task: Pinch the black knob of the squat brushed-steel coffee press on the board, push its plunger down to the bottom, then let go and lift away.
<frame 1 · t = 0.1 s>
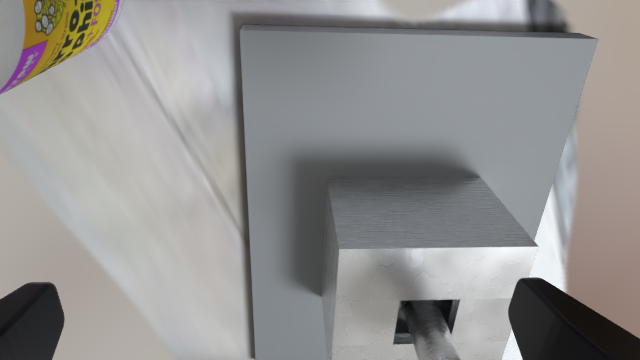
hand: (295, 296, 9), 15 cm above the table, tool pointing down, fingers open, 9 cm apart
press: (408, 276, 22), on the board, point 4 cm above the table
board: (390, 225, 26), on the table
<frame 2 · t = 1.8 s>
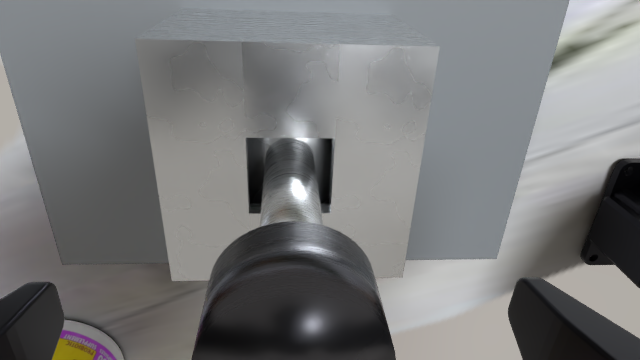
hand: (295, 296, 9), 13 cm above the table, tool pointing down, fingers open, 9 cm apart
press: (289, 139, 16), on the board, point 4 cm above the table
supplement bottle: (71, 351, 27), on the table
board: (288, 100, 20), on the table
plunger: (291, 225, 11), point 10 cm above the table, slide at 3.5 cm
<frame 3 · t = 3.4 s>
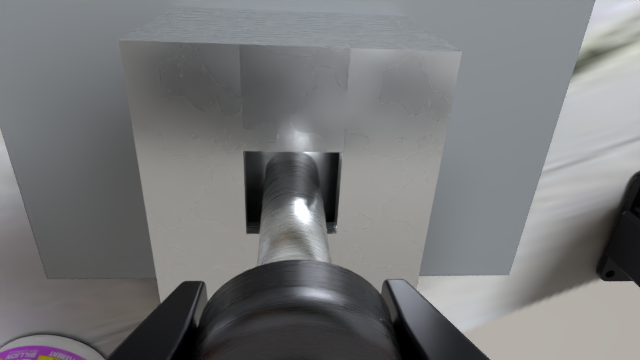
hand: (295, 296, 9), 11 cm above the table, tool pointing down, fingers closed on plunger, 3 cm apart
press: (291, 150, 15), on the board, point 4 cm above the table
board: (290, 106, 19), on the table
plunger: (294, 253, 10), point 10 cm above the table, slide at 3.5 cm, touching gripper
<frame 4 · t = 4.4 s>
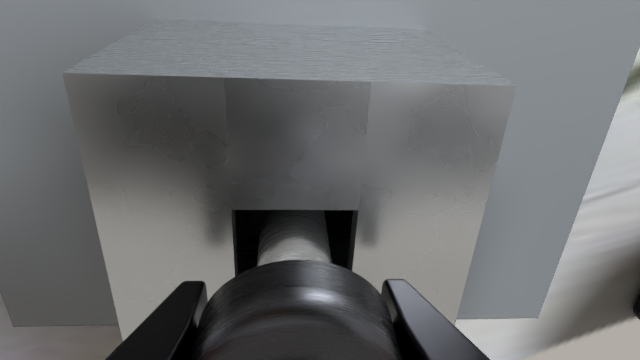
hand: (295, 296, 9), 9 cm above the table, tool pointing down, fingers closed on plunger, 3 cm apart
press: (292, 192, 12), on the board, point 4 cm above the table
board: (290, 131, 16), on the table
plunger: (294, 253, 10), point 7 cm above the table, slide at 0.6 cm, touching gripper
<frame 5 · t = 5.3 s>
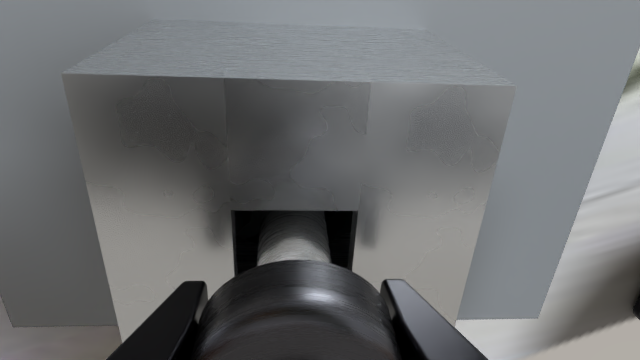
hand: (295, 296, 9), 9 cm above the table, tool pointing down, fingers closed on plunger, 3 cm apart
press: (292, 192, 12), on the board, point 4 cm above the table
board: (290, 132, 16), on the table
plunger: (293, 253, 10), point 7 cm above the table, slide at 0.6 cm, touching gripper
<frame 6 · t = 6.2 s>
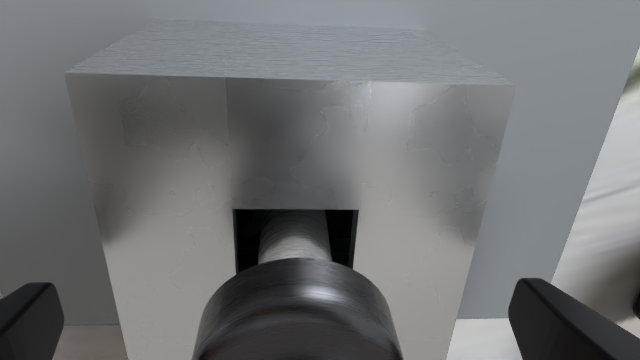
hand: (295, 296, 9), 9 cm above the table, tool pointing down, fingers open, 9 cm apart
press: (293, 192, 12), on the board, point 4 cm above the table
board: (291, 131, 16), on the table
plunger: (294, 252, 10), point 7 cm above the table, slide at 0.6 cm
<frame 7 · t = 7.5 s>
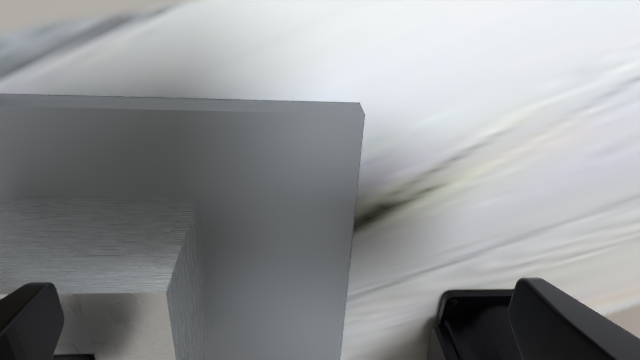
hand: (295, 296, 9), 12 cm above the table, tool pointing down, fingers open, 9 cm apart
press: (94, 317, 18), on the board, point 4 cm above the table
board: (128, 250, 22), on the table
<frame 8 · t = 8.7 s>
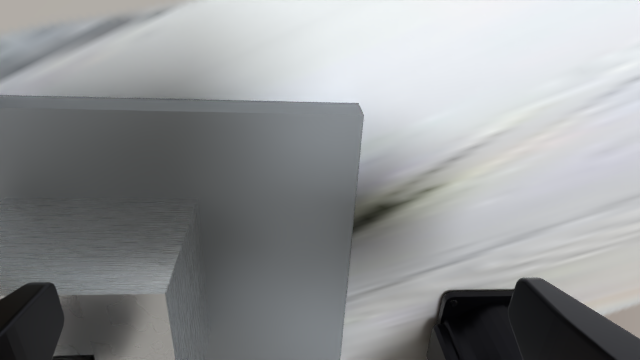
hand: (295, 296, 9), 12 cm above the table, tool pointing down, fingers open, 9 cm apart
press: (94, 318, 18), on the board, point 4 cm above the table
board: (128, 251, 22), on the table
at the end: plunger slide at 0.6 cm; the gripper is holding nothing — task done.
